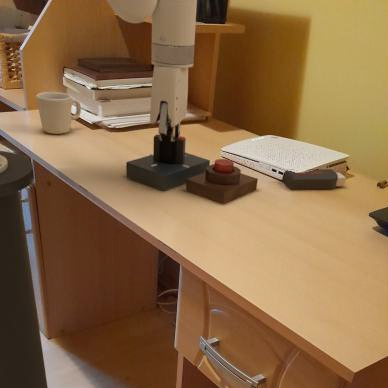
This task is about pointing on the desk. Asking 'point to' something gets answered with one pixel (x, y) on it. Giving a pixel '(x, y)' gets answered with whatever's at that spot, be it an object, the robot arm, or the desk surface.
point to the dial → (179, 149)
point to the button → (223, 166)
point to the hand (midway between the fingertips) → (169, 159)
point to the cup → (56, 111)
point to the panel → (165, 171)
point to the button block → (221, 184)
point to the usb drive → (313, 179)
